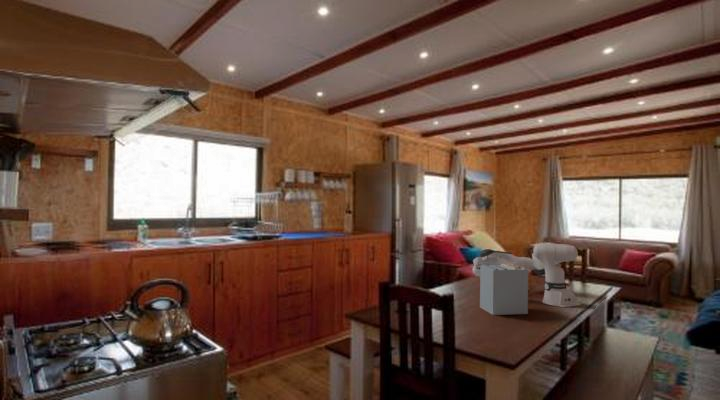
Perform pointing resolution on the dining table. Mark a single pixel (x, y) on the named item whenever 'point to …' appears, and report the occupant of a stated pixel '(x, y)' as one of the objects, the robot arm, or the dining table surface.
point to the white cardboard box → (503, 289)
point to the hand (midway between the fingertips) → (494, 256)
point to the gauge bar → (507, 262)
